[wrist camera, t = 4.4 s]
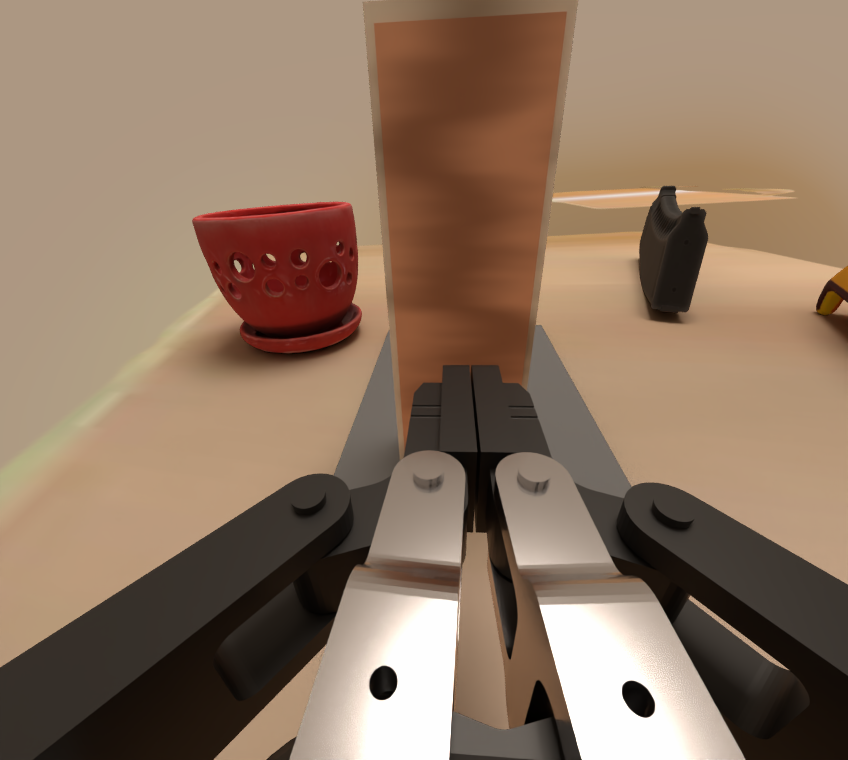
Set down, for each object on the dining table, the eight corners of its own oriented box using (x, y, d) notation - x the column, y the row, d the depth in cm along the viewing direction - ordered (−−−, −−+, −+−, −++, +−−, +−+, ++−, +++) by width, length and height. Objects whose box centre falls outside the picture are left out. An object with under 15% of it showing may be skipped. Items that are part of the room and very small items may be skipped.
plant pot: (366, 309, 44) (353, 197, 38) (368, 357, 33) (351, 209, 27) (252, 317, 42) (220, 202, 36) (213, 371, 31) (157, 218, 25)
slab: (508, 436, 22) (553, 23, 13) (516, 476, 19) (581, -15, 10) (406, 435, 22) (380, 34, 13) (400, 473, 19) (361, -1, 10)
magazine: (723, 234, 31) (698, 130, 49) (677, 232, 32) (670, 131, 50) (660, 376, 43) (659, 251, 61) (628, 371, 44) (637, 250, 62)
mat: (540, 330, 37) (541, 325, 36) (635, 508, 18) (638, 499, 17) (391, 331, 38) (390, 325, 37) (329, 499, 19) (327, 490, 18)
